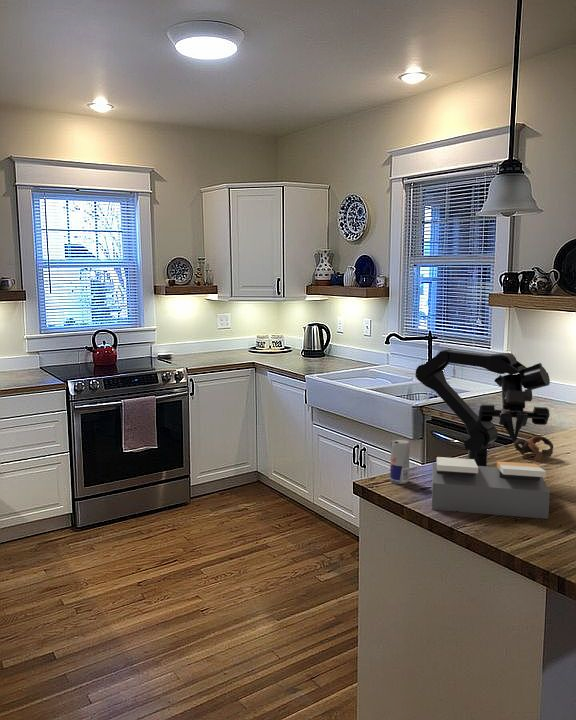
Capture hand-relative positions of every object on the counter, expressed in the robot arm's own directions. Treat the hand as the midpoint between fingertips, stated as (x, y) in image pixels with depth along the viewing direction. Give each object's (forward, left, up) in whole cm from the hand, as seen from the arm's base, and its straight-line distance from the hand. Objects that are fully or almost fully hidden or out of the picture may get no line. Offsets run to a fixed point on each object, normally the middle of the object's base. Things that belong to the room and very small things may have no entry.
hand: (514, 440), depth 179 cm
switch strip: (+10, -12, -13) cm, 21 cm away
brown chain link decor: (-26, +20, -14) cm, 36 cm away
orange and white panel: (+13, -5, -4) cm, 14 cm away
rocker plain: (+8, -20, -4) cm, 22 cm away
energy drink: (-9, -30, -14) cm, 34 cm away
